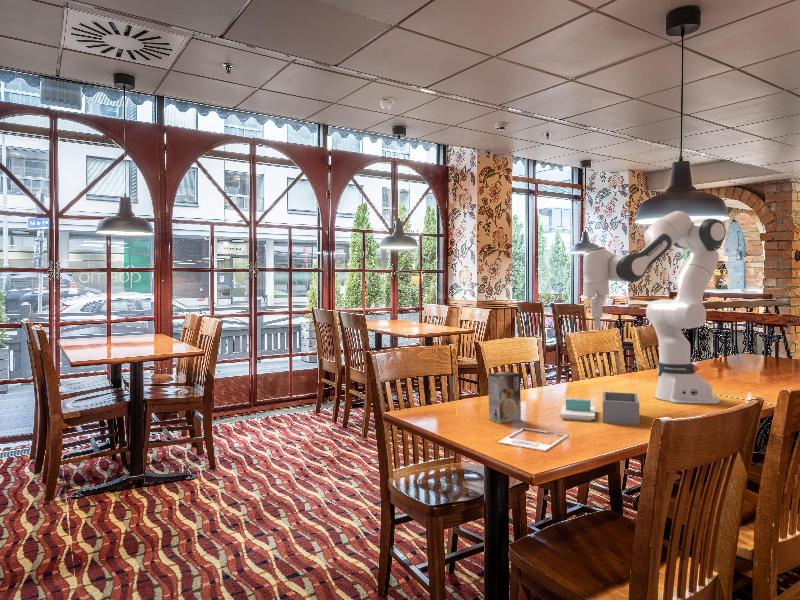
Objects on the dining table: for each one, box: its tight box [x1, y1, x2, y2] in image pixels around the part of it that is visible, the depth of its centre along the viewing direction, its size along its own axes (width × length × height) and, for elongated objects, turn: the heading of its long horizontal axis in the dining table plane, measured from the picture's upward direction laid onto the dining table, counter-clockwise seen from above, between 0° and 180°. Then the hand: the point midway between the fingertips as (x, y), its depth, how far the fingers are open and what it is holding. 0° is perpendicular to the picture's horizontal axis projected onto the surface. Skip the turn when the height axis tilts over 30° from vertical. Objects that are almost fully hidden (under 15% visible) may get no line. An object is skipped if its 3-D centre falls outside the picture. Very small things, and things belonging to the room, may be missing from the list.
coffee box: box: [487, 371, 522, 424], centre depth 190 cm, size 9×6×16 cm
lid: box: [559, 398, 596, 422], centre depth 191 cm, size 11×15×6 cm
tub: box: [602, 391, 640, 426], centre depth 187 cm, size 11×15×8 cm
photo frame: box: [497, 427, 569, 452], centre depth 166 cm, size 15×1×18 cm
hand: (597, 327), depth 209 cm, fingers open, 8 cm apart
